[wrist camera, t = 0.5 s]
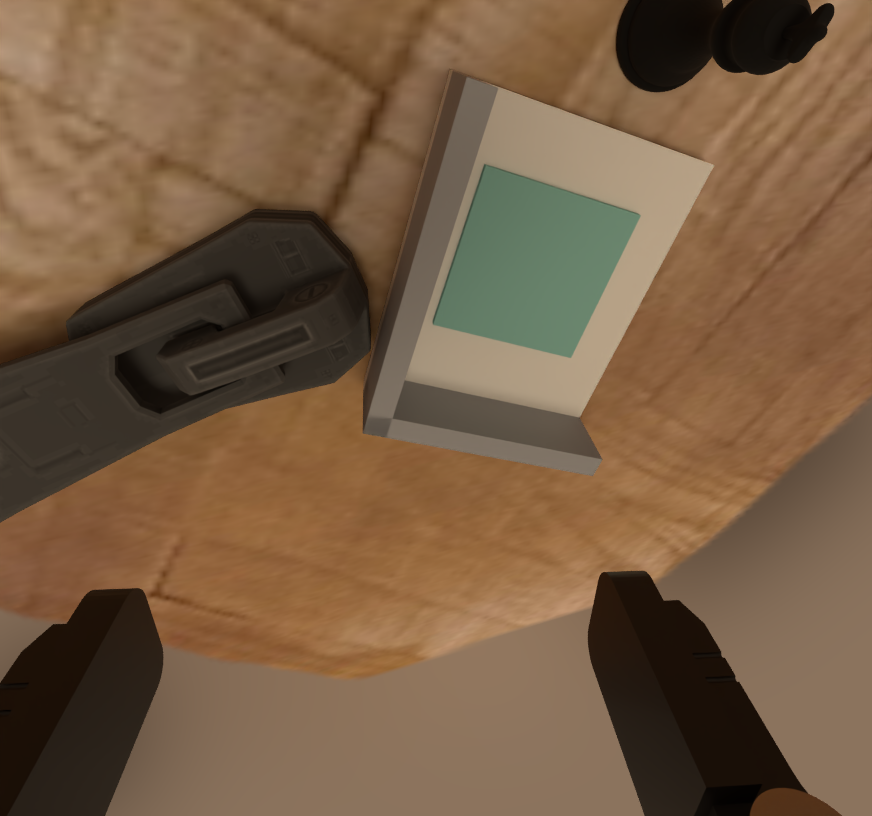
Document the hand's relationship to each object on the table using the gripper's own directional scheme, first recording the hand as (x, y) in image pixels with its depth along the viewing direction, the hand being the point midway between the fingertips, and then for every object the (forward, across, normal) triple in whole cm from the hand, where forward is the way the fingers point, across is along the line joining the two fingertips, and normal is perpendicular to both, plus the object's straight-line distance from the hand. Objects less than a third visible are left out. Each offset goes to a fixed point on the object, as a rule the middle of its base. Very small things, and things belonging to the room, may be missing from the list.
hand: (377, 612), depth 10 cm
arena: (+22, -7, 0) cm, 23 cm away
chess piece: (+21, -12, -11) cm, 27 cm away
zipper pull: (+22, +13, +4) cm, 26 cm away
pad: (+21, -7, -1) cm, 22 cm away
